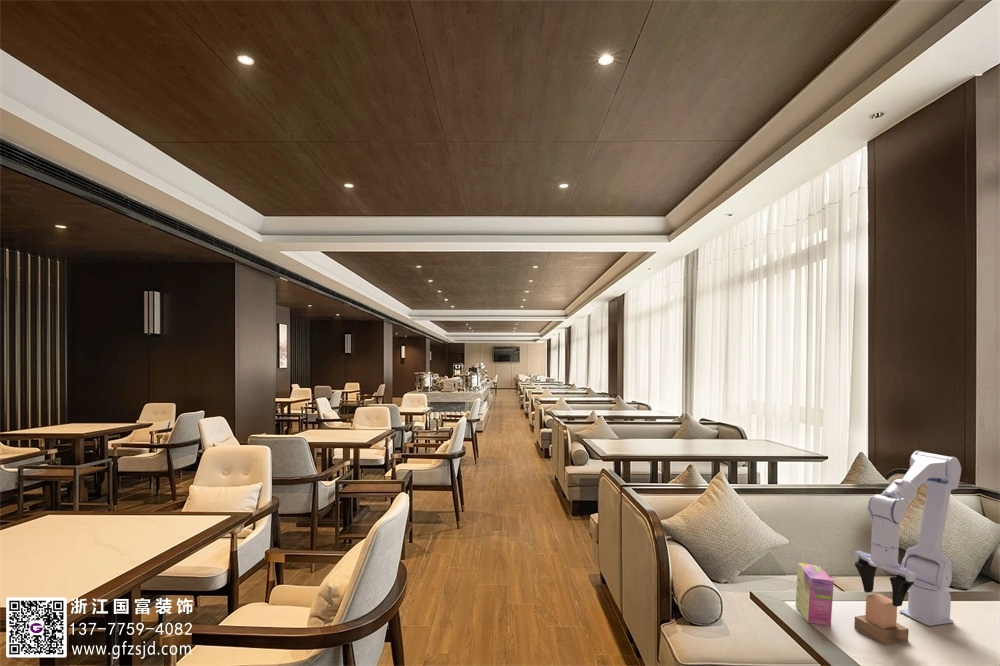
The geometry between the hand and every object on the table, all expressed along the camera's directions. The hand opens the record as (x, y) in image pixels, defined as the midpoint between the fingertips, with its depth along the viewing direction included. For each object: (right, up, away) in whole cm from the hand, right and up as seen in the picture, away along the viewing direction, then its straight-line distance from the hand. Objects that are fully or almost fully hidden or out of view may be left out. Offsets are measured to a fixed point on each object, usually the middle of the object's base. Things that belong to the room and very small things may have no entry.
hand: (882, 598), depth 143 cm
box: (-13, -9, +9) cm, 18 cm away
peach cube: (-1, -6, 0) cm, 6 cm away
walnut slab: (-1, -9, 0) cm, 9 cm away
